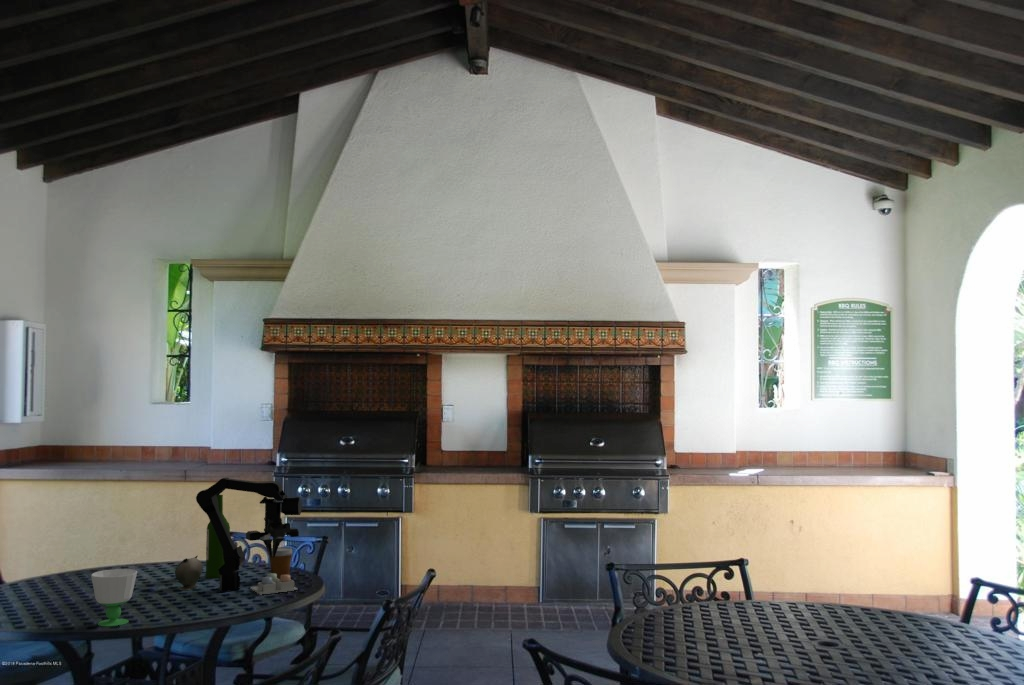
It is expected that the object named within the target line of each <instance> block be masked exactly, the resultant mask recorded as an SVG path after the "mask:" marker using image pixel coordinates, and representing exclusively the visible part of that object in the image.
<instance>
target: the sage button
mask: <svg viewBox="0 0 1024 685" xmlns="http://www.w3.org/2000/svg"><path fill="white" fill-rule="evenodd" d="M266 577H272V581H275V580H277V574H276V573H271V572H270V573H267V574H266Z"/></svg>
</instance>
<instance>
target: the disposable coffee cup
mask: <svg viewBox="0 0 1024 685" xmlns="http://www.w3.org/2000/svg"><path fill="white" fill-rule="evenodd" d="M272 550H273V547H272ZM293 552H294V551H293V549H292V548H291V547H289V546H287V547H286V546H285V547H284V546H281V547H280V546H278V549H277V552H276V555H275V557H273V553H272V557H270V556H269V553H268V552H267V553H268V556H269V565H270V566H269V567H270V573H276V574H277V578H278V579H280V578H281V575H290V568H291V563H292V561H291V560H292V555H293Z"/></svg>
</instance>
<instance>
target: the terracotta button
mask: <svg viewBox="0 0 1024 685" xmlns="http://www.w3.org/2000/svg"><path fill="white" fill-rule="evenodd" d="M290 579H291V574H289V575H281V578H280V582H290Z"/></svg>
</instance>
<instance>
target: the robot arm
mask: <svg viewBox="0 0 1024 685" xmlns="http://www.w3.org/2000/svg"><path fill="white" fill-rule="evenodd" d="M225 490H233V491H238V492H239V491H240V492H249V493H255V494H258V495H260V496H262V497H263V498H262V499H261V500H260V501H259V504H264V505H265V506H264V517H263V521H264V528H263V532H262V531H259V530H248V531H247V532H246V533H245V539H246V540H248V541H262V542H263V544H264V545H265V547H266V550H267V553H269V554H268V556H270V557H272V553H273V557H275V555H276V552H277V549H278V547H280V544H281V543H282V542H283V541H285V539H286V536H288V535H289V537H290V538H292V537H293V538H295V537H299V535H300V531H299V529H298V528H296V527H292V526H291V523H289V522H285V523H283V520H282V517H281V514H283V515H284V516H300V515H302V507H303V505H302V502H301V497H300V496H295V497H292V496H290V497H288V495H287V494H286V492H285V491H284V490H283V485H282V484H281V483H280V482H279V481H276V480H273V481H260V482H259V481H252V480H251V481H250V480H244V479H243V480H242V479H237V478H236V479H235V478H229V477H222V478H219V480H218V481H217V482H215V483H214V484H213V485H210V487H208V488H206V489H203V490H200V491H199V492H198V493H197V495H195V496H196V497H195V500H196V501H195V502H196V503H197V504H198V506H199V508H200V509H201V510H202V511H203V512H204V513H205V514H206V515H207V517H208V519H209V522H211V524H212V526H213V528H214V531H215V533H216V535H217V537H218V540H219V542H220V544H221V547H222V549H223V559H224V563H225V564H224V565H223V566H222V567H220V568H219V569H218V571H219V574H220V578H219V587H217V589H218V590H220V591H221V592H224V593H225V592H229V591H231V590H232V591H238V590H237V589H240V590H241V576H240V575H239V574H240V573H239V572H240V571H239V570H240V568H241V566H244V564H245V560H246V558H245V556H246V553H245V552H244V550H243V547H242V545H239V546H237V545H236V544H235V543H234V541H233V538H232V536H231V534H229V531H228V529H227V527H226V525H225V522H224V520H223V518H222V516H221V513H220V511H219V505H218V498H217V496H218V495H221V494H222V493H223V492H224V491H225ZM271 538H272V539H271ZM272 548H273V550H272ZM232 591H231V592H232Z"/></svg>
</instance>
